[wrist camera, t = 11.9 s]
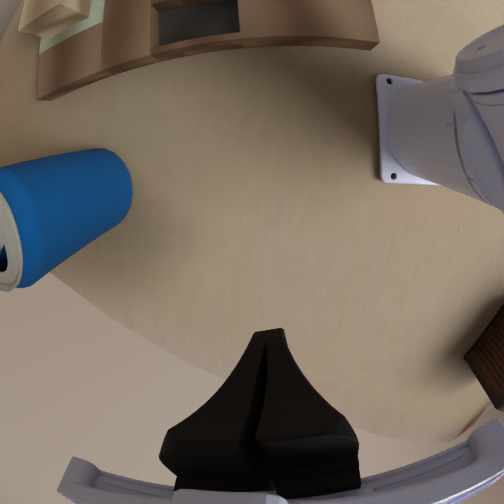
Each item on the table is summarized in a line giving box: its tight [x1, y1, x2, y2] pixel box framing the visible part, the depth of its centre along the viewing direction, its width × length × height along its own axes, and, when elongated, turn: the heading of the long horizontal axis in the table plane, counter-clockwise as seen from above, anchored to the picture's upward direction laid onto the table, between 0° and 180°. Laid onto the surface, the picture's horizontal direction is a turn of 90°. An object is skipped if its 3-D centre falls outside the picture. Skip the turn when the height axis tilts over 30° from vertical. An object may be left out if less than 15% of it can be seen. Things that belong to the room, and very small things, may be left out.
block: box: [18, 0, 91, 39], centre depth 10 cm, size 4×4×4 cm
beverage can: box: [0, 149, 133, 291], centre depth 14 cm, size 6×6×12 cm
